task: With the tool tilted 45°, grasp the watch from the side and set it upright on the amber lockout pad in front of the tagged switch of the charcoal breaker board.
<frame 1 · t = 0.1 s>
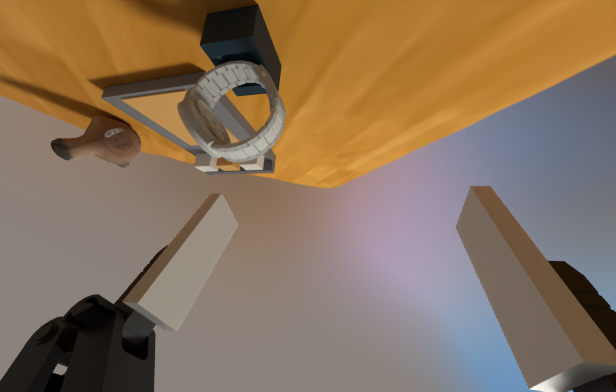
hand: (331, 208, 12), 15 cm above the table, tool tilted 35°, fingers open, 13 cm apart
breaker board: (209, 129, 34), on the table
oil lamp: (112, 116, 32), on the table
watch: (248, 41, 19), on the table
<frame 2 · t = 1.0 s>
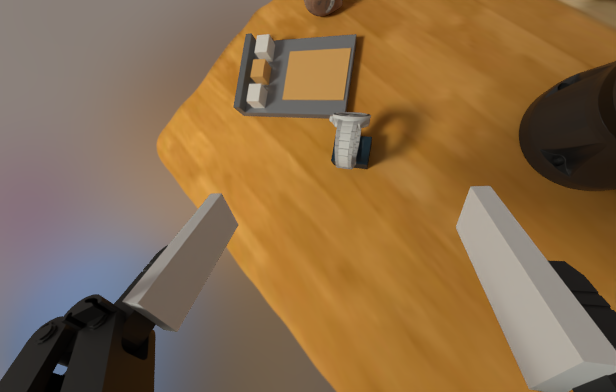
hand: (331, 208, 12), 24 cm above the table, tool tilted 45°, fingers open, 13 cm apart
breaker board: (296, 80, 40), on the table
oil lamp: (332, 11, 40), on the table
watch: (352, 154, 37), on the table
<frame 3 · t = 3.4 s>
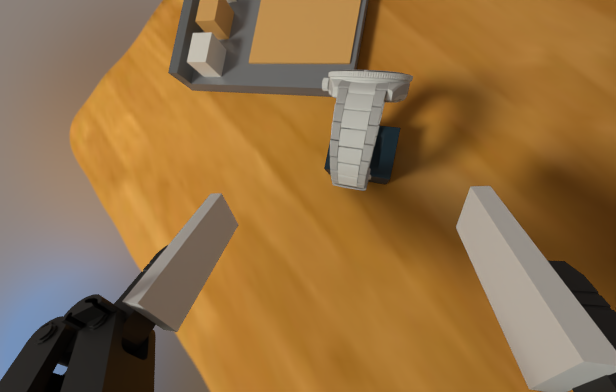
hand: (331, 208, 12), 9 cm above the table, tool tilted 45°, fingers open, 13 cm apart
breaker board: (274, 35, 25), on the table
watch: (361, 157, 22), on the table
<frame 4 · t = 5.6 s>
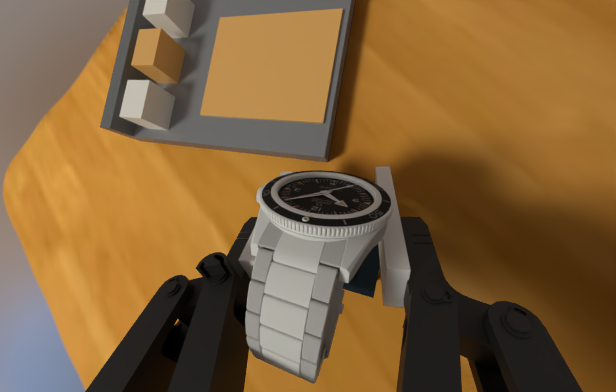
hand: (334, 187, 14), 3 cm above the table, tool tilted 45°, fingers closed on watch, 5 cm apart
breaker board: (235, 77, 20), on the table
watch: (340, 241, 17), on the table, touching gripper
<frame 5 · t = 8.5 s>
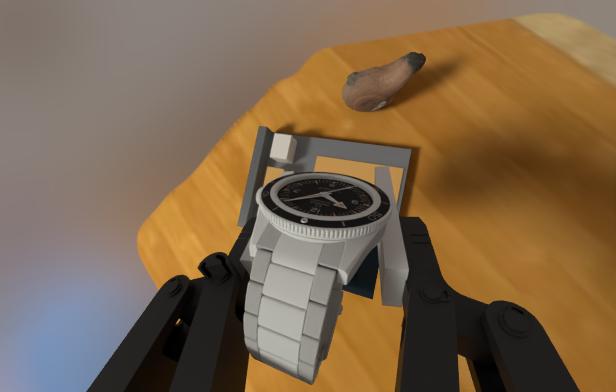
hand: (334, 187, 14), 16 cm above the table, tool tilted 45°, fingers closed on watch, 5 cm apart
breaker board: (323, 191, 30), on the table
oil lamp: (377, 103, 30), on the table
watch: (340, 242, 17), point 13 cm above the table, touching gripper
when the fingers open (6 cm above the table, at t = 10.9 s): watch drops 1 cm, resting on breaker board.
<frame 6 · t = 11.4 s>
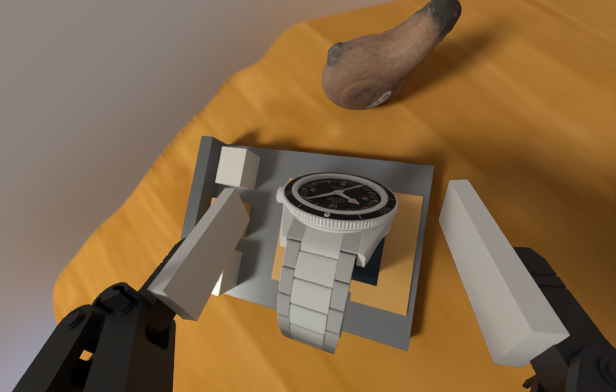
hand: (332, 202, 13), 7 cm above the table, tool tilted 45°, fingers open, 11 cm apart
breaker board: (301, 229, 20), on the table
oil lamp: (376, 97, 20), on the table
watch: (344, 237, 18), point 2 cm above the table, touching breaker board
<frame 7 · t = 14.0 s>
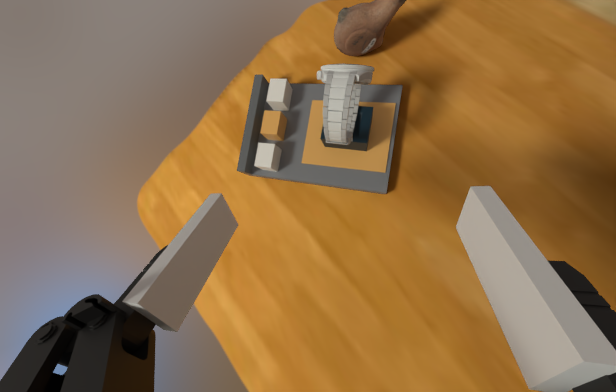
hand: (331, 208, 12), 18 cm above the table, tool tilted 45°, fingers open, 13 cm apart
breaker board: (319, 136, 31), on the table
oil lamp: (368, 49, 31), on the table
watch: (347, 132, 29), point 2 cm above the table, touching breaker board
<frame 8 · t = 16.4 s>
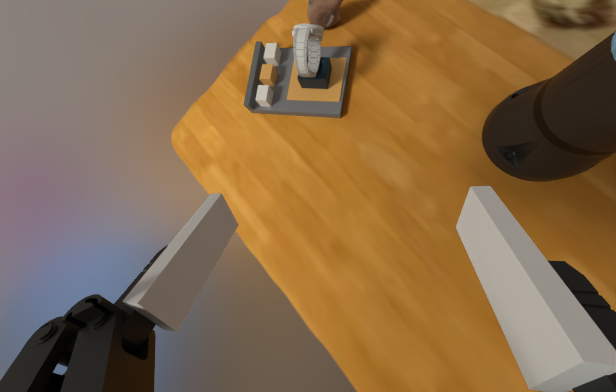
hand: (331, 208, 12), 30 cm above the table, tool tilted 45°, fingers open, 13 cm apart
breaker board: (299, 83, 46), on the table
oil lamp: (332, 25, 46), on the table
watch: (316, 78, 44), point 2 cm above the table, touching breaker board
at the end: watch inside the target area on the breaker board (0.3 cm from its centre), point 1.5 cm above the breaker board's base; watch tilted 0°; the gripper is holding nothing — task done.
